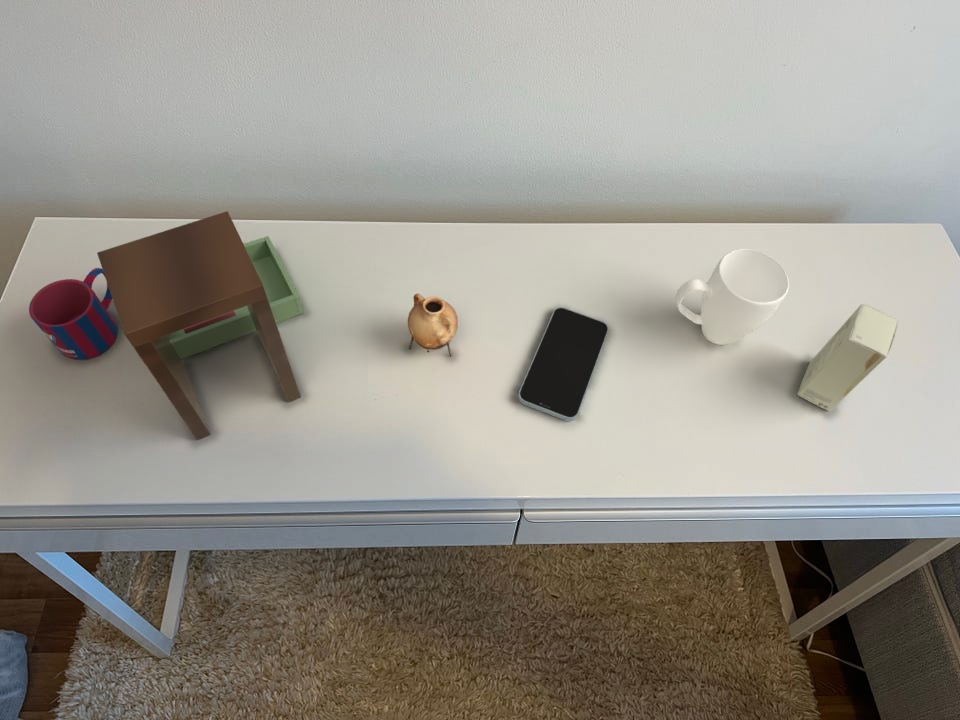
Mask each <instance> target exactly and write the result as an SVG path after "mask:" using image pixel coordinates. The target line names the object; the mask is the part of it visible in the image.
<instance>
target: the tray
mask: <svg viewBox="0 0 960 720" xmlns="http://www.w3.org/2000/svg"><path fill="white" fill-rule="evenodd" d="M243 244H244V246H245V248H246V250H247V252H248V254H249V257H250V259H251V261H252V263H253V265H254V267H255V269H256V271H257V273H258V275H259V277H260V280H261V282H262V284H263V286H264V289H265V292H266V295H267V298H268V301H269V304H270V307H271V310H272V313H273V316H274V319H275V322H276V324H279V323H282V322H284V321H287V320H289V319H291V318H295V317H297V316H299V315H302V314H304V309H303V306H302V302H301V298H300V295H299V293H298V291H297V289H296V288H295V285H294V283H293V282H292V279H291V277H290V276H289V273H288V272H287V269H286V268H285V265H284V264H283V262H282V260H281V257H280V256H279V253H278V251H277V250H276V248H275V246H274V244H273V242H272V240H271V238H270V236H269V235H266V236H264V237H263V236H262V237H260V238H257V239H256V240H255V239H254V240H251V241H247V242H245V243H243ZM234 311H235V313H236V316H233V317H231V318H228V319H225V320H222V321H220V322H217V323H214V324H211V325H209V326H206V327H203V328H201V329H198V330H195V331H192V332H190V333H187V334H185V332H184V330H183V329H182V330H179V331H176V332H173V333H171V334H168V335H166V336H167V337H168V339H169V341H170V342H171V344H172V346H173V347H174V349H175V351H176V352H177V354H178V356H179V357H180V359H181V360H183V359H186V358H188V357H189V358H190V357H192V356H194V355H197V354H199V353H202V352H205V351H207V350H210V349H212V348H216V347H218V346H221V345H223V344H225V343H228V342H231V341H234V340H236V339H239V338H241V337H244V336H247V335H250V334H252V333H255V332H257V331H256V328H255V325H254V323H253V320H252V318H251V315H250V312H249V310H248V307H247V306H245V307H242V308H239V309H237V310H234Z"/></svg>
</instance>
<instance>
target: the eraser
mask: <svg viewBox="0 0 960 720" xmlns="http://www.w3.org/2000/svg"><path fill="white" fill-rule="evenodd" d="M233 316H236V313H235V311H231V312H228V313H226V314H223V315H220V316H217V317H215V318H212V319H209V320H206V321H204V322H201V323H198V324H195V325H193V326H190V327H187V328H184V329H183V330H184V332H185V334H187V333H190V332H192V331H195V330H198V329H201V328H203V327H206V326H209V325H211V324H214V323H217V322H220V321H222V320H225V319H228V318H231V317H233Z"/></svg>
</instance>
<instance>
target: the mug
mask: <svg viewBox="0 0 960 720" xmlns="http://www.w3.org/2000/svg"><path fill="white" fill-rule="evenodd" d="M712 271H713V272H712V273H711V274H710V276H709V279H708V281H707V282H706V281H704V280H702V279H698V278H694V279H690V280H688V281H686V282H684V283H682V284H681V285H680V286H679V288H678V289H677V290H676V293H675V296H674V302H675V306H676V308H677V310H678V311H679V312H680V313H681V315H683V316H684V317H685V318H686V319H688V320H690V321H691V322H693V324H695V325H701V332H702V334H703V336H704V337H705V339H706V340H707V341H709V342H710V343H713V344H715V345H719V346H726V345H729V344H731V343H733V342H736V341H738V340H740V339H742V338H744V337H746V336H748V335H750V334H752V333H754V332H755V331H757V330H759V329H760V328H762V326H764V325H765V324H766V323H767V322H768V320H769V319H771V317H772V316H773V315H774V313H775V312H776V310H777V309H778V308H779V307H780V305H781V304H782V302H783V301H784V299H785V298H786V296H787V294H788V291H789V289H790V280H789V277H788V274H787V272H786V270H785V268H784V267H783V266H782V264H780V263H779V261H778V260H776V259H775V258H774V257H772V256H770V255H769V254H766V253H765V252H762V251H759V250H756V249H752V248H740V249H735V250H731V251H729V252H727V253H726V254H725V255H724V256H722V257H721V259H720V260H719V261H718V263H717V264H716V266H715V268H714V269H713V270H712ZM695 291H702V296H701V305H700V314H697V313H695V312H693V311H691V310H690V309H689V308H687V307H686V306H685V305H683V303H682V301H683V299H684V298H685V297H686V296H688V295H689V294H690V293H692V292H695Z"/></svg>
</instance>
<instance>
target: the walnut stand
mask: <svg viewBox="0 0 960 720" xmlns="http://www.w3.org/2000/svg"><path fill="white" fill-rule="evenodd" d="M244 244H245V243H244V242H243V240H242V238H241V236H240V233H239V231H238V230H237V227H236V225H235V224H234V221H233V219H232V216H231V215H230V213H229V211H228V210H227V211H224V212H223V211H222V212H220V213H217V214H213V215H211V216H210V215H209V216H208V217H205V218H201V219H198V220H194V221H192V222H188V223H186V224H183V225H182V224H181V225H179V226H176V227H173V228H170V229H167V230H164V231H161V232H158V233H154V234H151V235H148V236H145V237H140V238H138V239H135V240H132V241H129V242H126V243H123V244H120V245H119V244H118V245H116V246H113V247H110V248H106V249H104V250H100V251H98V252H96V254H97V258H98V260H99V264H100V266H101V269H103V272H104V275H105V276H104V275H103V276H104V279H105V281H106V285H107V284H108V287H109V290H110V293H111V296H112V302H113V305H114V307H115V311H116V313H117V316H118V319H119V323H120V326H121V329H122V331H123V334H124V336H125V337H126V339H127V341H128V342H129V343H130V344H131V346H132V347H133V349H134V351H135V352H136V354H137V355H138V356H139V358H140V359H141V360H142V362H143V363H144V365H145V367H146V368H147V369H148V371H149V372H150V374H151V375H152V376H153V378H154V379H155V381H156V382H157V384H158V386H159V387H160V388H161V389H162V391H163V392H164V394H165V396H166V397H167V398H168V400H169V401H170V403H171V405H172V406H173V407H174V409H175V410H176V412H177V413H178V414H179V416H180V417H181V419H182V421H183V422H184V423H185V424H186V426H187V427H188V429H189V430H190V432H191V433H192V435H193V436H194V437H195V439H196V440H197V441H200V440H202V439H204V438H207V437H209V436H211V432H210V428H209V427H208V423H207V420H206V418H205V415H204V413H203V410H202V407H201V405H200V402H199V399H198V397H197V394H196V392H195V390H194V387H193V384H192V381H191V379H190V376H189V374H188V371H187V369H186V366H185V363H184V362H183V361H182V359H180V357H179V356H178V354H177V352H176V351H175V349H174V347H173V346H172V344H171V342H170V341H169V339H168V337H167V336H166V335H168V334H171V333H173V332H176V331H179V330H182V329H184V328H187V327H190V326H193V325H195V324H198V323H201V322H204V321H206V320H209V319H212V318H215V317H217V316H220V315H223V314H226V313H228V312H231V311H234V310H237V309H239V308H242V307H245V306H247V307H248V310H249V312H250V315H251V318H252V320H253V323H254V325H255V328H256V331H255V332H256V333H257V336H258V338H259V340H260V342H261V345H262V347H263V349H264V351H265V354H266V356H267V359H268V360H269V362H270V364H271V367H272V369H273V371H274V373H275V376H276V378H277V381H278V382H279V384H280V387H281V389H282V391H283V394H284V395H285V397H286V400H287V402H288V403H291V402H293V401H295V400H298V399H300V398H301V397H302V396H301V393H300V390H299V387H298V384H297V381H296V378H295V376H294V373H293V370H292V366H291V363H290V360H289V357H288V355H287V352H286V351H287V350H286V349H285V345H284V342H283V340H282V336H281V334H280V330H279V328H278V325H277V323H276V322H275V319H274V316H273V313H272V310H271V307H270V304H269V301H268V298H267V295H266V292H265V289H264V286H263V284H262V282H261V280H260V277H259V275H258V273H257V271H256V269H255V267H254V265H253V263H252V261H251V259H250V257H249V254H248V252H247V250H246V248H245V246H244Z"/></svg>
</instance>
